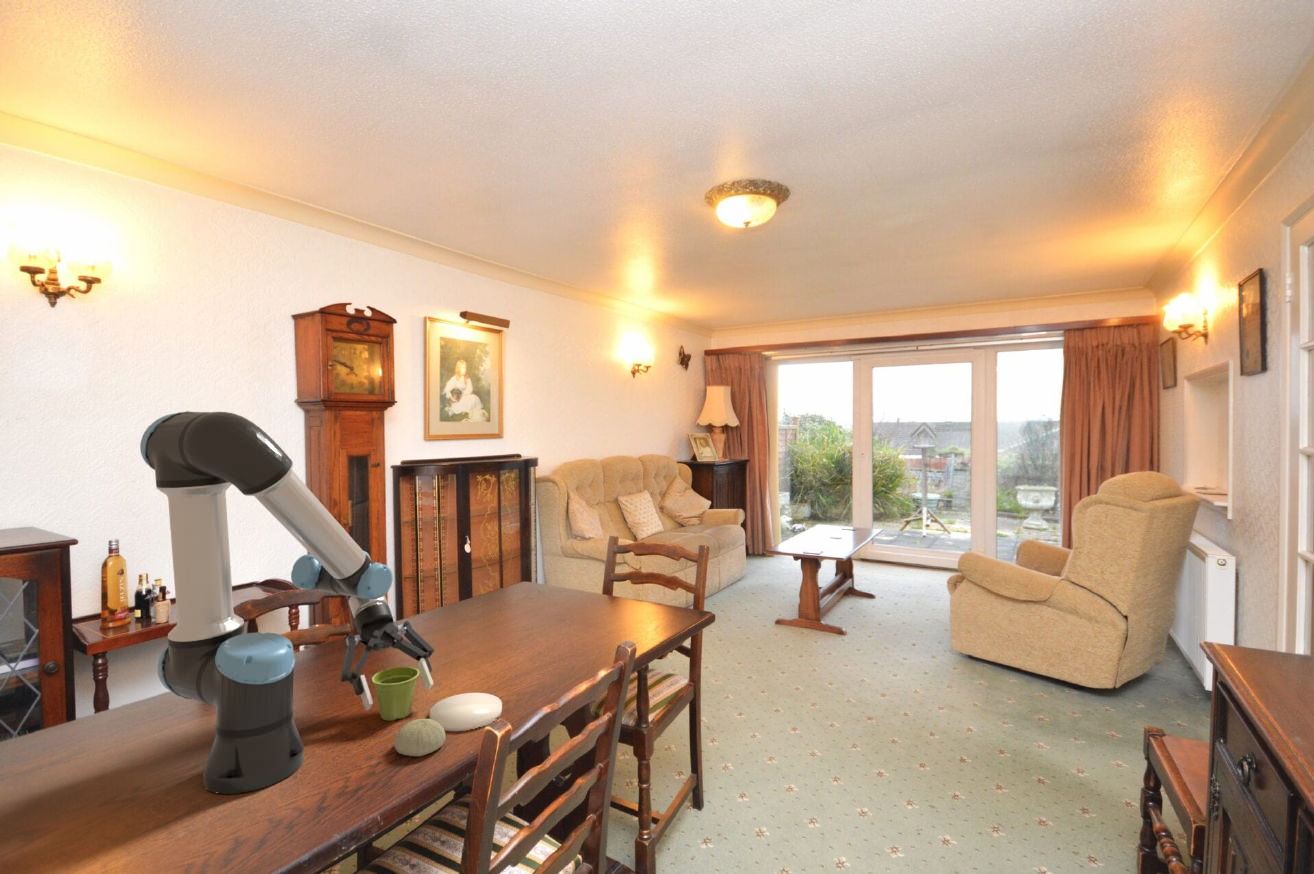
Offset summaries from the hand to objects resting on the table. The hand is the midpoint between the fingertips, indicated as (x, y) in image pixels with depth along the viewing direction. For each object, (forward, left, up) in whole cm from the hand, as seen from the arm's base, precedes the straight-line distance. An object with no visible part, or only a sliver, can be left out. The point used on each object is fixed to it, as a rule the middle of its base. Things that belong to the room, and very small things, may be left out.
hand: (401, 696), depth 130 cm
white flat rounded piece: (+10, -9, -5) cm, 14 cm away
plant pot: (0, +2, -5) cm, 5 cm away
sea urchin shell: (-3, -14, -5) cm, 15 cm away
